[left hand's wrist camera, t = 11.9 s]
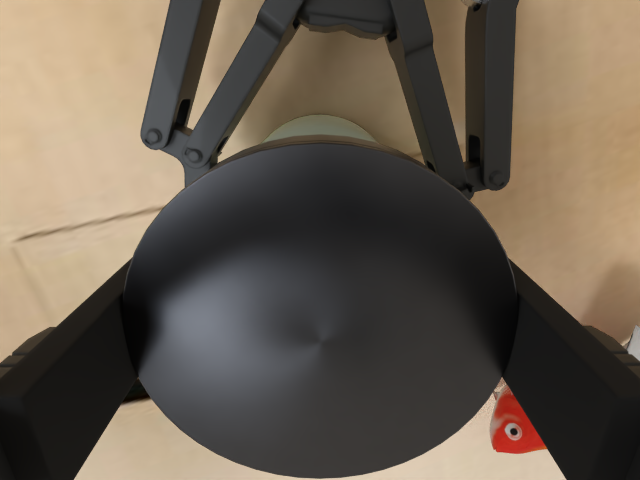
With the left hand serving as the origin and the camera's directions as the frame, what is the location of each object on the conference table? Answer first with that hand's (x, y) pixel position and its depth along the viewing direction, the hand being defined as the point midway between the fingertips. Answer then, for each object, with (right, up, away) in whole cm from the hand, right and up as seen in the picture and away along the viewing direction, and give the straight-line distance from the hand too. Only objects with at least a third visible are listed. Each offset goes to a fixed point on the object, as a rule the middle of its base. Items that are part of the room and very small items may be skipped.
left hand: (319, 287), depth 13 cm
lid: (0, -1, -3) cm, 3 cm away
